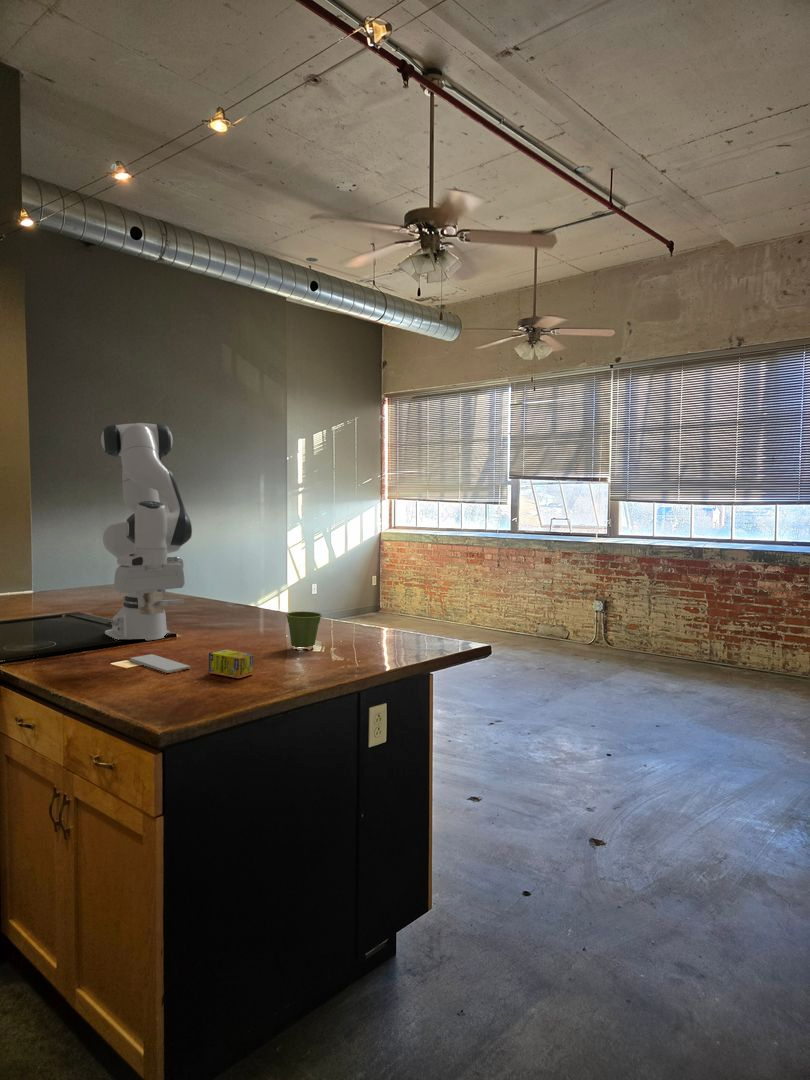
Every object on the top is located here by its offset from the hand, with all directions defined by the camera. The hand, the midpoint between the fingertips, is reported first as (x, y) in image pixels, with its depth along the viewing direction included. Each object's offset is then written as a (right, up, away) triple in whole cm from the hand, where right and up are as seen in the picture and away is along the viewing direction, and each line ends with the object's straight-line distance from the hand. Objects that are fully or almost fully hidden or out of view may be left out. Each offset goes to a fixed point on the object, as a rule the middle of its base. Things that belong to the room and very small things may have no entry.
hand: (150, 605), depth 198 cm
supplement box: (+21, -15, -8) cm, 26 cm away
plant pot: (+40, -16, +25) cm, 50 cm away
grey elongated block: (+4, -2, -3) cm, 5 cm away
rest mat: (+3, -17, -2) cm, 17 cm away
